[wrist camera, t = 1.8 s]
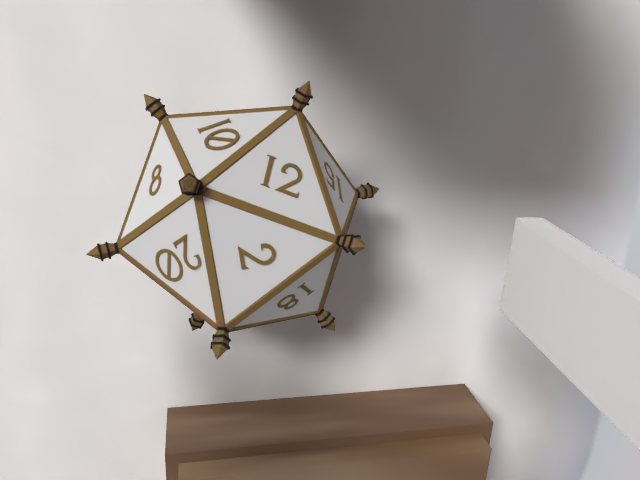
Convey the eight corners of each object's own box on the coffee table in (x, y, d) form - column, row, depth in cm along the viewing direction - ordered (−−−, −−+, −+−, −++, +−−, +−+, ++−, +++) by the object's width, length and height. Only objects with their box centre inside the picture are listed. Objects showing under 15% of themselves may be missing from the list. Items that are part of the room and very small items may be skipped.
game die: (232, 207, 27) (185, 422, 22) (98, 68, 21) (-16, 315, 16) (417, 155, 24) (420, 398, 18) (317, -30, 18) (273, 246, 12)
